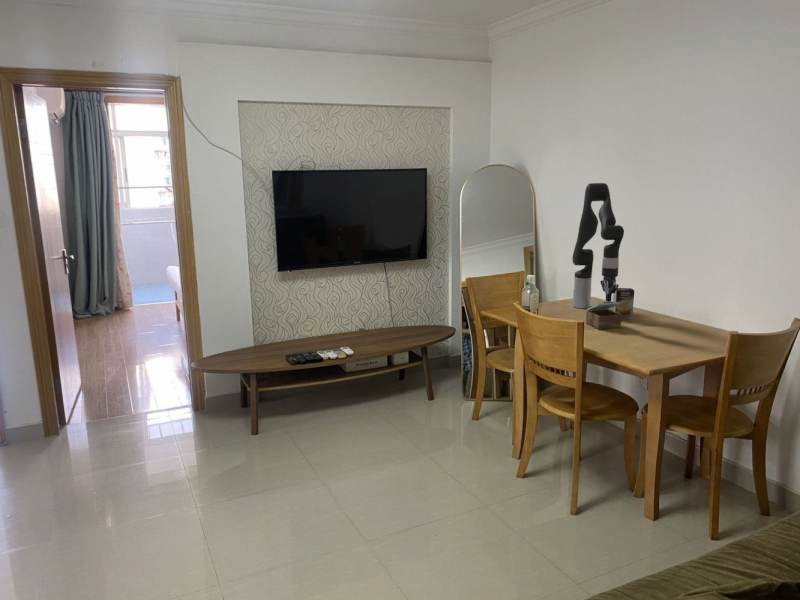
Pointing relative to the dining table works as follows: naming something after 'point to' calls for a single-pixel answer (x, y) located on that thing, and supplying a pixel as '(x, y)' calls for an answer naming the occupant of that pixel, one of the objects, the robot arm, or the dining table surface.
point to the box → (603, 319)
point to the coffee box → (624, 302)
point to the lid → (603, 305)
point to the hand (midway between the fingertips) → (608, 301)
